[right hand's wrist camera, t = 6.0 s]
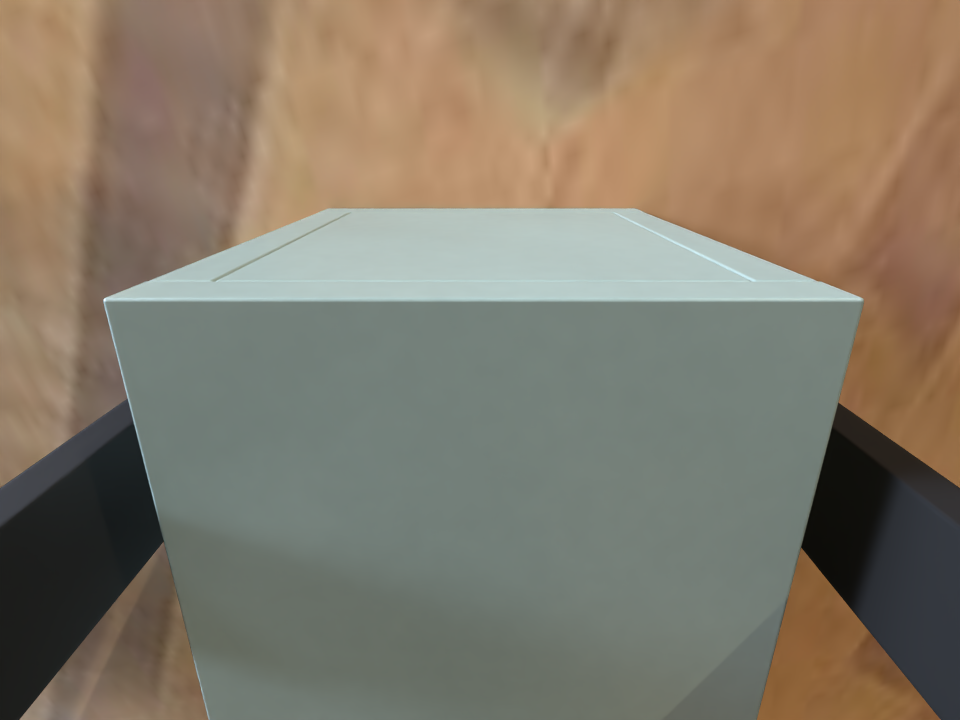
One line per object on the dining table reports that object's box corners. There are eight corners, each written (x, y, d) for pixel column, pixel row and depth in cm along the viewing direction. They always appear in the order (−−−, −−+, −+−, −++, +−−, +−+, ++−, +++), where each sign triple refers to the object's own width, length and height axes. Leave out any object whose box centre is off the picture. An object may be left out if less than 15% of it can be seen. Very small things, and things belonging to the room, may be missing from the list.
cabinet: (597, 606, 24) (691, 976, 13) (364, 606, 24) (272, 976, 13) (636, 208, 18) (867, 298, 7) (326, 208, 18) (100, 298, 7)
